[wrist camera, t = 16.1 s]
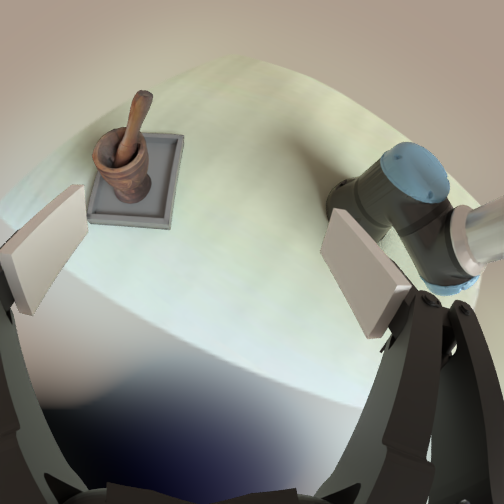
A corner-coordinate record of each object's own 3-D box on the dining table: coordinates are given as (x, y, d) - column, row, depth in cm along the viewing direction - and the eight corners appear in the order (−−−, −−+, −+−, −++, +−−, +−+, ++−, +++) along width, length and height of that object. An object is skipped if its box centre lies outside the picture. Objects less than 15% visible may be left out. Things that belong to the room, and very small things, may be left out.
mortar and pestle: (130, 150, 50) (110, 80, 31) (167, 159, 51) (160, 88, 32) (105, 200, 47) (67, 140, 28) (145, 211, 48) (121, 152, 29)
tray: (184, 143, 53) (183, 135, 51) (170, 229, 49) (168, 224, 46) (112, 140, 51) (109, 132, 48) (90, 223, 46) (85, 218, 43)
